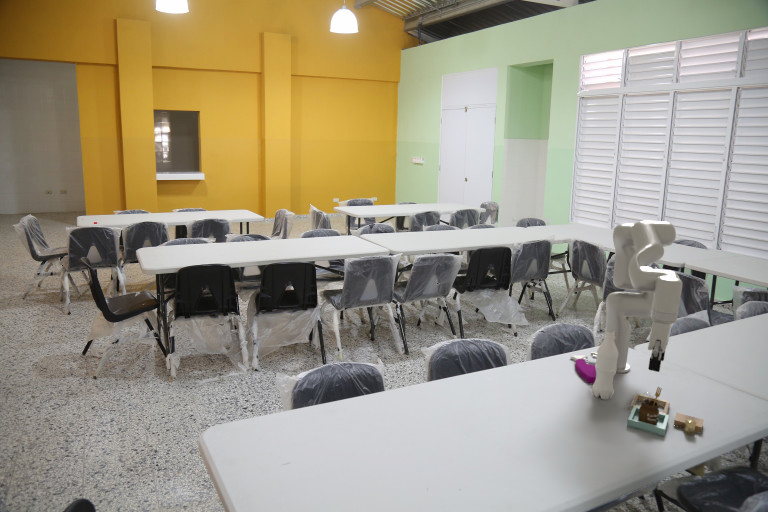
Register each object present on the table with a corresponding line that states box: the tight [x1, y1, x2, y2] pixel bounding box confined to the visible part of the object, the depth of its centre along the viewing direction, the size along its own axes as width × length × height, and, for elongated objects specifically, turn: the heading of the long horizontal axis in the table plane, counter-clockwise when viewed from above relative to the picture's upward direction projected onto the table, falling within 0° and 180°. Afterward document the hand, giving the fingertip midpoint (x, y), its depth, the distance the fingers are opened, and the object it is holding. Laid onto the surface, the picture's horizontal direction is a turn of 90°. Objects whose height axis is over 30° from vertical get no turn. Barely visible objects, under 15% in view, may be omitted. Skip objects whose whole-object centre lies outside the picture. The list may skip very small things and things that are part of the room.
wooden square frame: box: [629, 393, 671, 415], centre depth 200 cm, size 11×11×2 cm
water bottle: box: [592, 330, 618, 401], centre depth 206 cm, size 7×7×25 cm
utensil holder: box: [638, 386, 663, 425], centre depth 189 cm, size 6×6×12 cm
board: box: [673, 412, 704, 434], centre depth 190 cm, size 8×6×2 cm
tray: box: [626, 406, 670, 437], centre depth 190 cm, size 11×11×2 cm
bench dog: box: [683, 419, 696, 436], centre depth 185 cm, size 3×3×4 cm
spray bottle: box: [570, 355, 596, 385], centre depth 231 cm, size 3×11×24 cm
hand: (656, 365), depth 186 cm, fingers open, 9 cm apart
